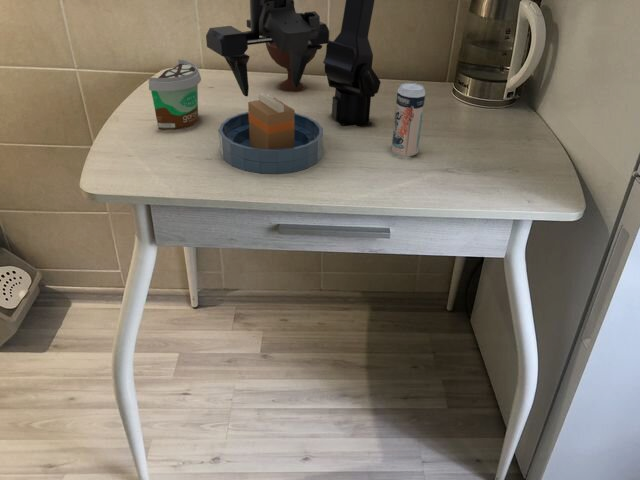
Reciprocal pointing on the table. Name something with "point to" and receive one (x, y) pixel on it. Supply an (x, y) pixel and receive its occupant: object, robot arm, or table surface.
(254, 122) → the carton
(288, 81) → the ice cream bowl
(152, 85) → the food container
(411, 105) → the beer can
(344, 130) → the table surface
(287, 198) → the table surface
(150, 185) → the table surface
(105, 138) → the table surface
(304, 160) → the bowl
